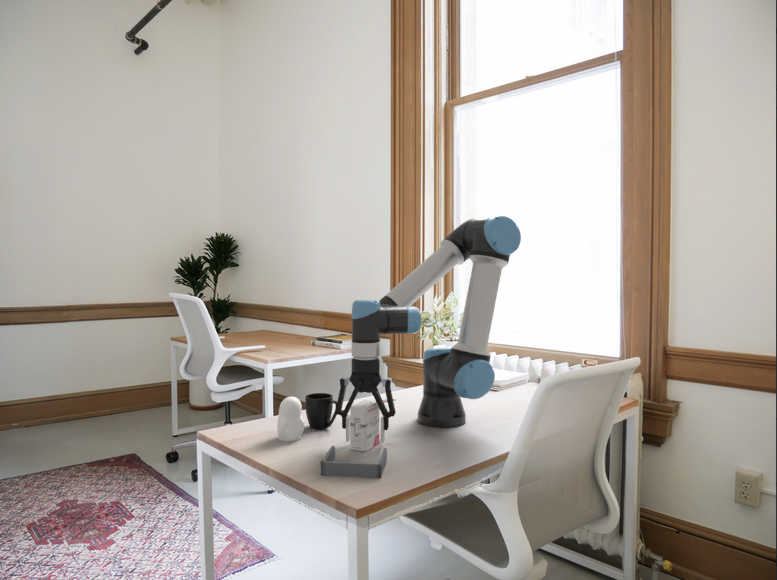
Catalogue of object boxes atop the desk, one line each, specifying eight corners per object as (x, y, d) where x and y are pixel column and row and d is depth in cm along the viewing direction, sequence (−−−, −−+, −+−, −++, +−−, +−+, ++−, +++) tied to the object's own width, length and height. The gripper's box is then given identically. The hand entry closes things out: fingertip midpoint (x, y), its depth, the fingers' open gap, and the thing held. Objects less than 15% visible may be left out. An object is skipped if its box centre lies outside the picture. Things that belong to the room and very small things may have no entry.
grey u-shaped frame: (386, 459, 137) (386, 448, 137) (380, 477, 125) (380, 464, 125) (331, 457, 139) (331, 445, 139) (320, 475, 127) (320, 462, 127)
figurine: (281, 444, 149) (281, 400, 149) (273, 436, 156) (273, 394, 156) (306, 440, 153) (306, 397, 152) (297, 433, 159) (297, 392, 159)
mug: (327, 435, 157) (327, 402, 157) (299, 427, 165) (299, 396, 165) (347, 429, 164) (347, 397, 163) (319, 421, 171) (319, 391, 171)
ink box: (364, 440, 153) (364, 398, 152) (380, 443, 151) (380, 400, 150) (349, 449, 145) (349, 405, 145) (365, 452, 143) (366, 407, 143)
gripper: (406, 356, 150) (406, 438, 150) (329, 354, 152) (329, 435, 153) (404, 360, 142) (403, 447, 143) (323, 358, 145) (323, 443, 145)
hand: (365, 441), depth 148 cm, fingers open, 9 cm apart
